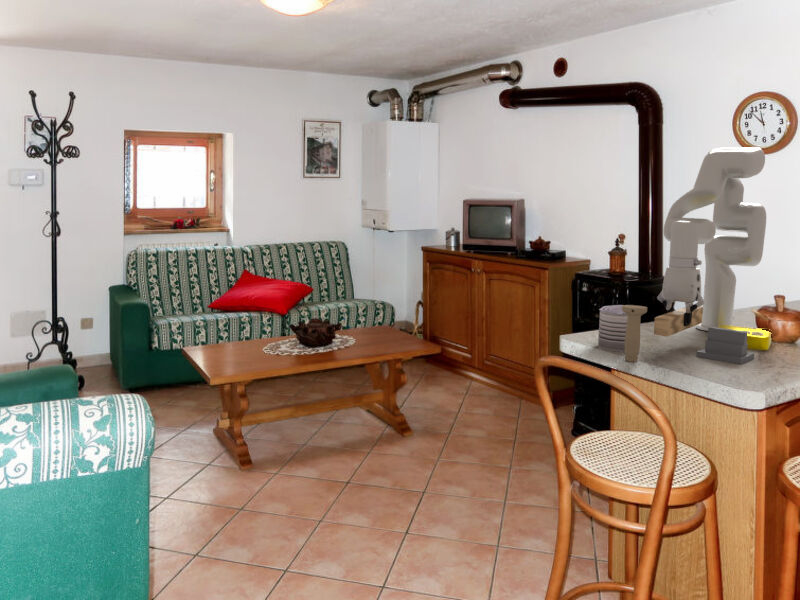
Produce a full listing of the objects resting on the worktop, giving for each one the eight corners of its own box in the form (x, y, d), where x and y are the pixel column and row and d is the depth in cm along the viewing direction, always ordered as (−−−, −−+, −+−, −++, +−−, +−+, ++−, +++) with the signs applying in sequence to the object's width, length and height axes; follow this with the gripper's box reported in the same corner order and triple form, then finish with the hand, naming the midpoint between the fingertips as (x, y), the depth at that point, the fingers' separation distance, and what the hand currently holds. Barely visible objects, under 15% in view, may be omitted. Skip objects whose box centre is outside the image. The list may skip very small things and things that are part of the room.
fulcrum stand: (710, 351, 208) (712, 324, 207) (754, 358, 200) (756, 330, 199) (696, 356, 201) (698, 328, 200) (740, 364, 193) (743, 335, 192)
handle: (641, 364, 191) (645, 309, 189) (617, 361, 194) (620, 306, 192) (645, 360, 195) (648, 306, 193) (621, 357, 198) (624, 304, 196)
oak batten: (689, 321, 222) (690, 305, 221) (702, 322, 219) (703, 306, 218) (653, 334, 205) (654, 317, 204) (667, 336, 202) (668, 319, 202)
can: (645, 351, 207) (647, 310, 205) (609, 352, 205) (611, 311, 203) (625, 342, 218) (627, 304, 216) (590, 343, 216) (593, 304, 214)
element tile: (771, 343, 223) (772, 328, 222) (767, 352, 210) (769, 336, 209) (719, 337, 230) (720, 322, 230) (712, 345, 218) (714, 330, 217)
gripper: (717, 264, 205) (712, 326, 209) (661, 259, 217) (657, 318, 220) (706, 267, 200) (702, 330, 204) (649, 261, 212) (646, 322, 215)
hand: (679, 323), depth 212 cm, fingers closed on oak batten, 4 cm apart
